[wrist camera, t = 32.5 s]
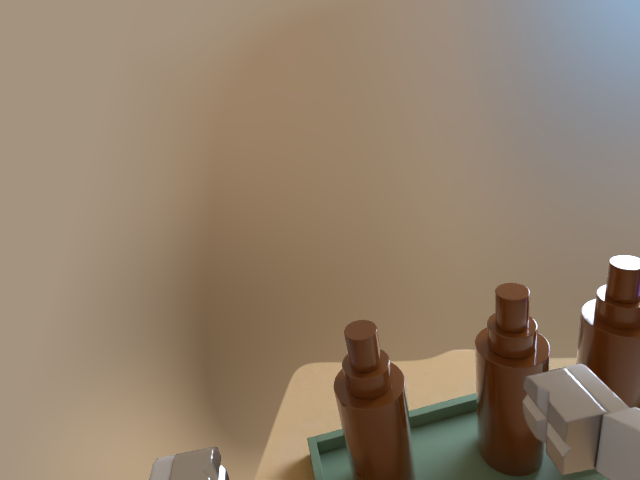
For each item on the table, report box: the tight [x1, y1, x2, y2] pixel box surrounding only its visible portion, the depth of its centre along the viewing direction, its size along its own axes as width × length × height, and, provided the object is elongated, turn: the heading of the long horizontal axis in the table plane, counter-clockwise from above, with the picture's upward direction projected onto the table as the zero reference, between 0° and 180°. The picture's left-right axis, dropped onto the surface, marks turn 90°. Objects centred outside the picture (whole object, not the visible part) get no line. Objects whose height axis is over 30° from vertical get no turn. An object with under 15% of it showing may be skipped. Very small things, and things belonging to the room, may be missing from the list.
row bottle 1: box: [475, 283, 550, 476], centre depth 37 cm, size 6×6×17 cm
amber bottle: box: [334, 320, 416, 480], centre depth 36 cm, size 6×6×17 cm
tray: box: [307, 393, 610, 480], centre depth 40 cm, size 32×12×2 cm, turn 100°
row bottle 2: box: [576, 255, 640, 409], centre depth 38 cm, size 6×6×17 cm
